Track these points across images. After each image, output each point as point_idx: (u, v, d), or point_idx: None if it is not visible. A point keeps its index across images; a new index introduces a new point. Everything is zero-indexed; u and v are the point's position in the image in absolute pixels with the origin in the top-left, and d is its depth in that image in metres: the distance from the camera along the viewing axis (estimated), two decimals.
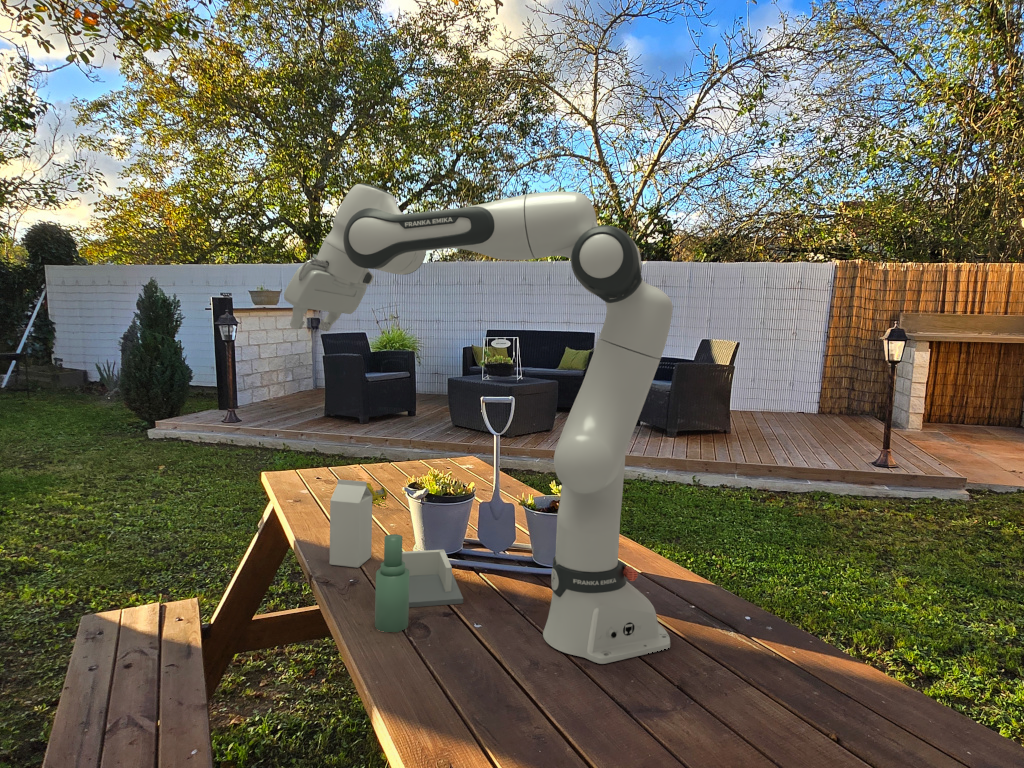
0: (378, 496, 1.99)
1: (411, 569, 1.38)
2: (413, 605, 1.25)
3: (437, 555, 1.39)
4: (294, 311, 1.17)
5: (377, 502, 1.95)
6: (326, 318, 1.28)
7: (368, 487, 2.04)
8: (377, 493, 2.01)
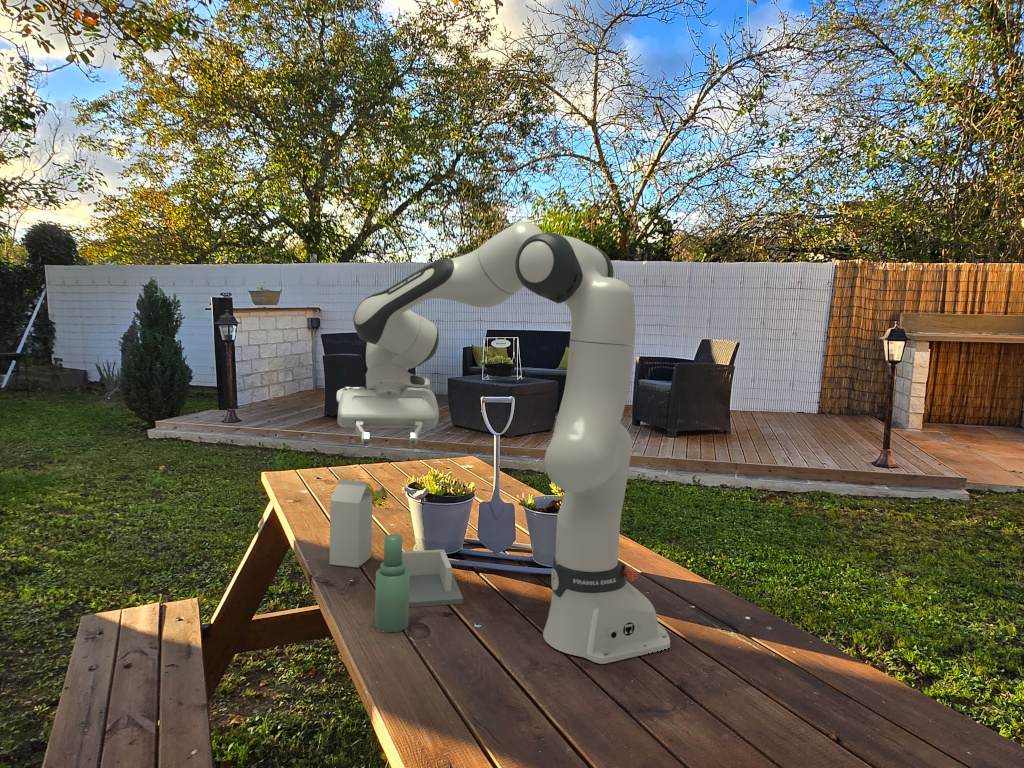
0: (378, 496, 1.99)
1: (411, 569, 1.38)
2: (413, 605, 1.25)
3: (437, 555, 1.39)
4: (356, 431, 1.27)
5: (378, 502, 1.95)
6: None
7: (368, 487, 2.04)
8: (377, 493, 2.01)
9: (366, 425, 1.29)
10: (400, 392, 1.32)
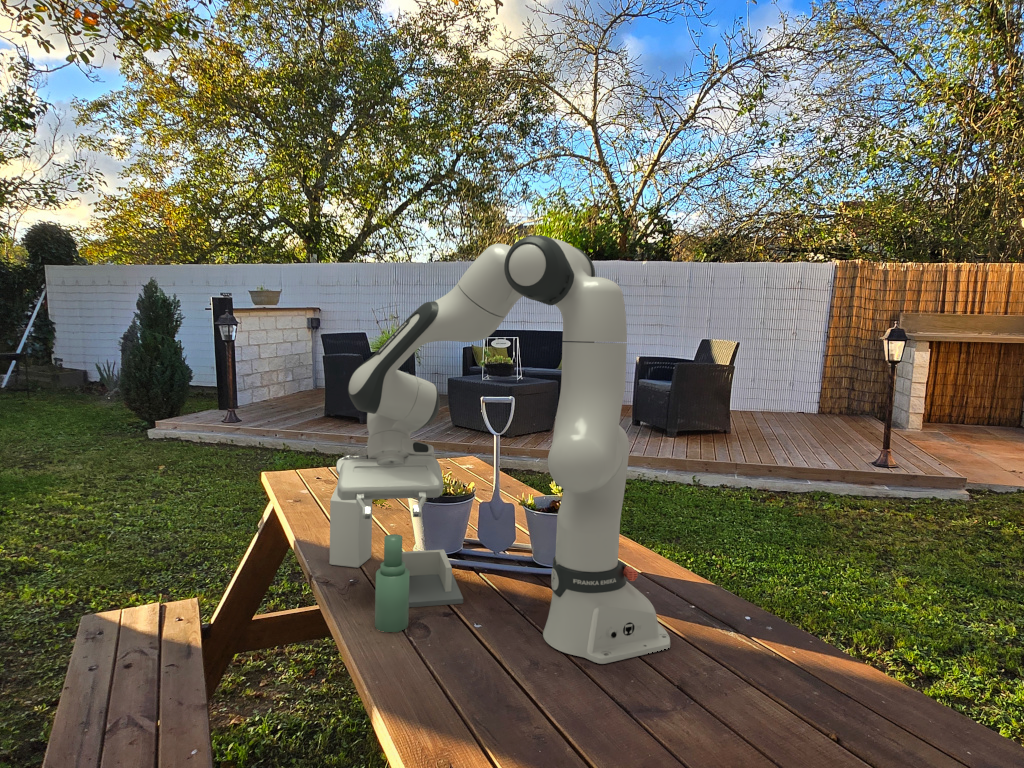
0: None
1: (411, 569, 1.38)
2: (413, 605, 1.25)
3: (437, 555, 1.39)
4: (357, 505, 1.21)
5: (379, 502, 1.95)
6: None
7: None
8: None
9: (367, 497, 1.23)
10: (403, 461, 1.26)
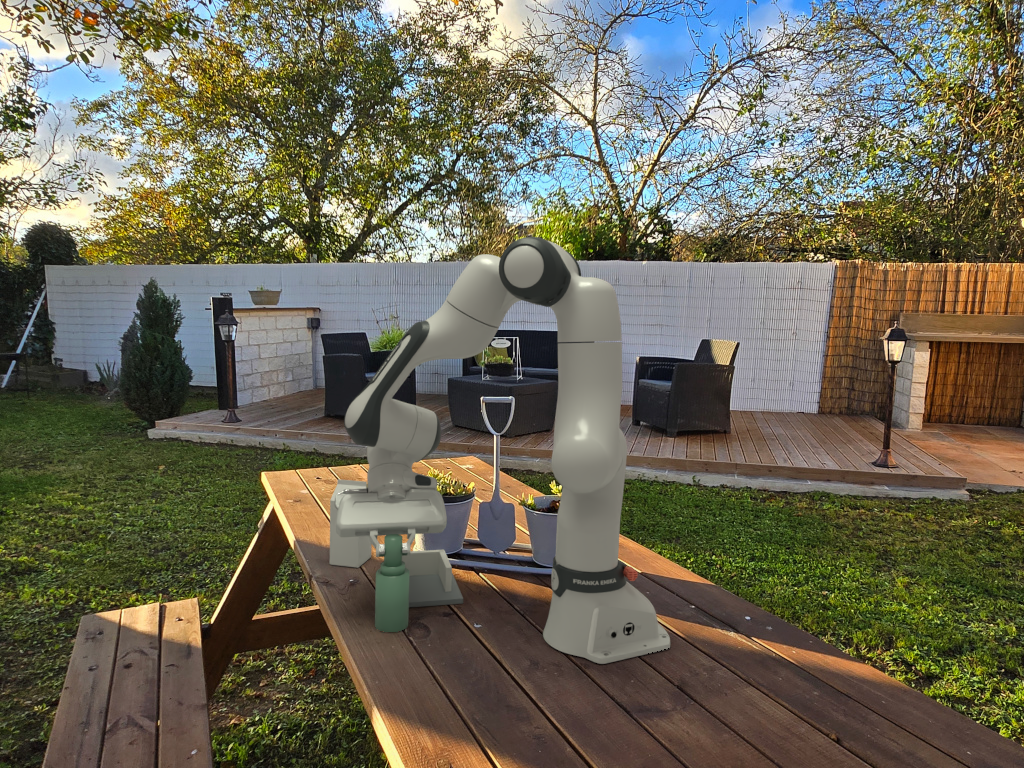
0: None
1: (411, 569, 1.38)
2: (413, 605, 1.25)
3: (437, 555, 1.39)
4: (371, 541, 1.16)
5: None
6: None
7: None
8: None
9: (381, 533, 1.18)
10: (404, 495, 1.21)
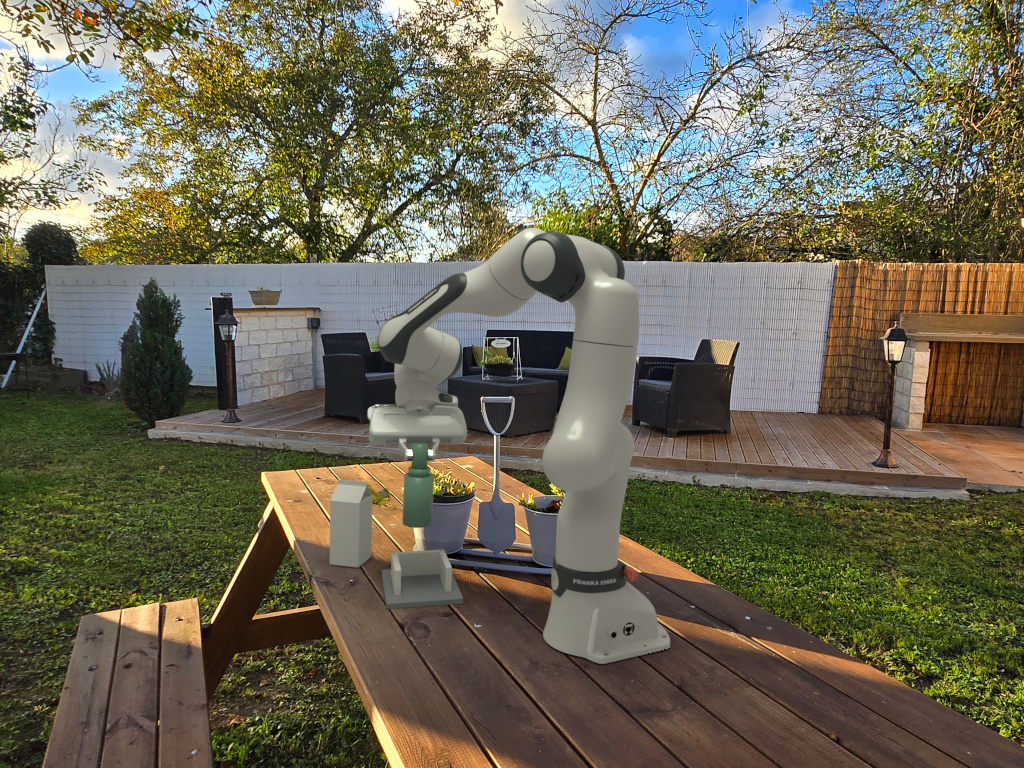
0: (382, 497, 1.98)
1: (411, 569, 1.38)
2: (413, 605, 1.25)
3: (437, 555, 1.39)
4: (400, 448, 1.30)
5: (383, 503, 1.94)
6: None
7: (370, 488, 2.02)
8: (380, 494, 2.00)
9: (408, 442, 1.32)
10: (429, 410, 1.35)
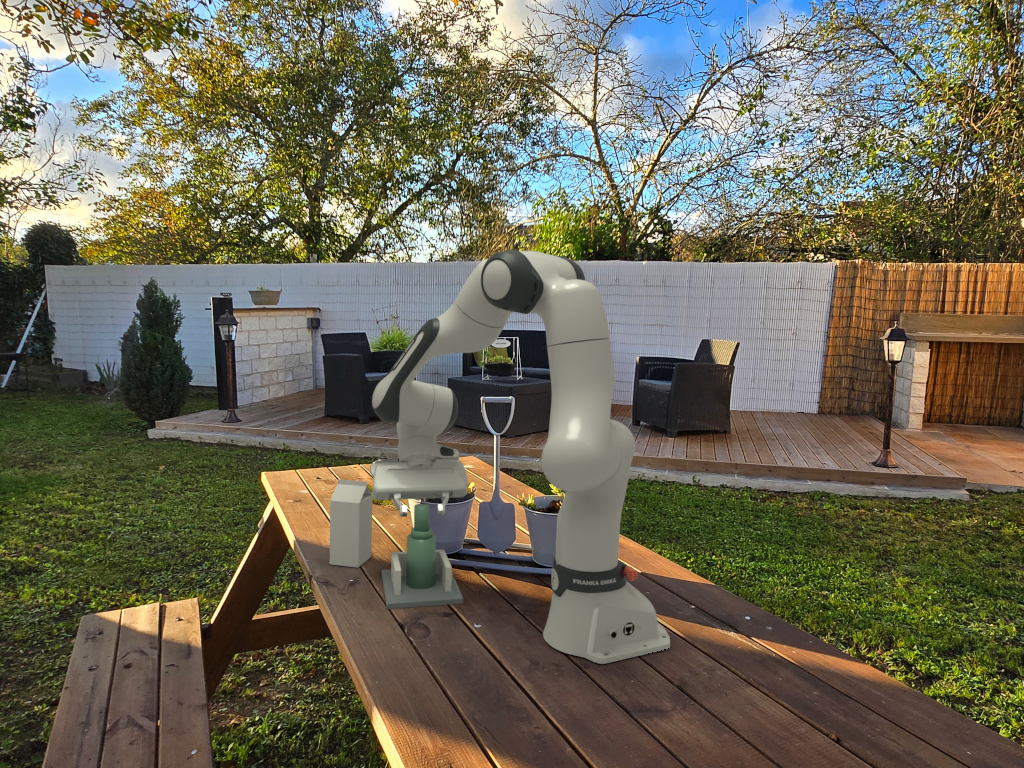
0: None
1: None
2: (413, 605, 1.25)
3: (437, 555, 1.39)
4: (395, 504, 1.33)
5: (386, 503, 1.94)
6: None
7: (371, 489, 2.02)
8: None
9: (403, 497, 1.35)
10: (431, 464, 1.38)
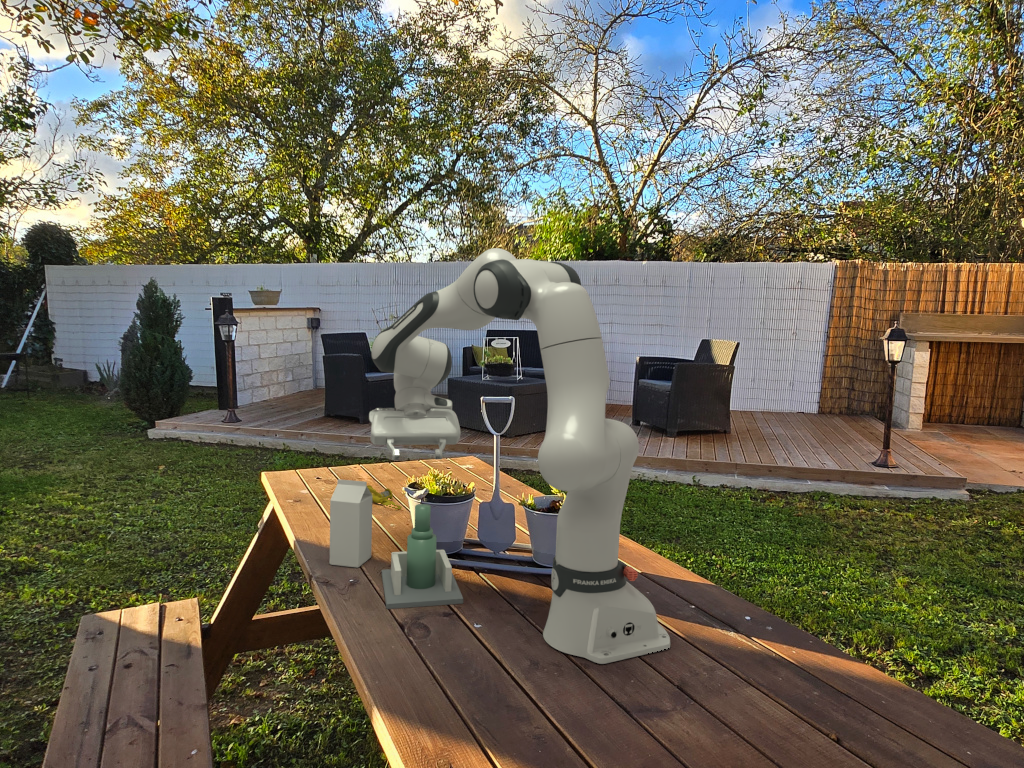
0: (385, 498, 1.98)
1: None
2: (413, 605, 1.25)
3: (437, 555, 1.39)
4: (388, 448, 1.42)
5: (388, 504, 1.94)
6: None
7: (371, 489, 2.01)
8: (383, 495, 1.99)
9: (396, 442, 1.44)
10: (425, 413, 1.47)
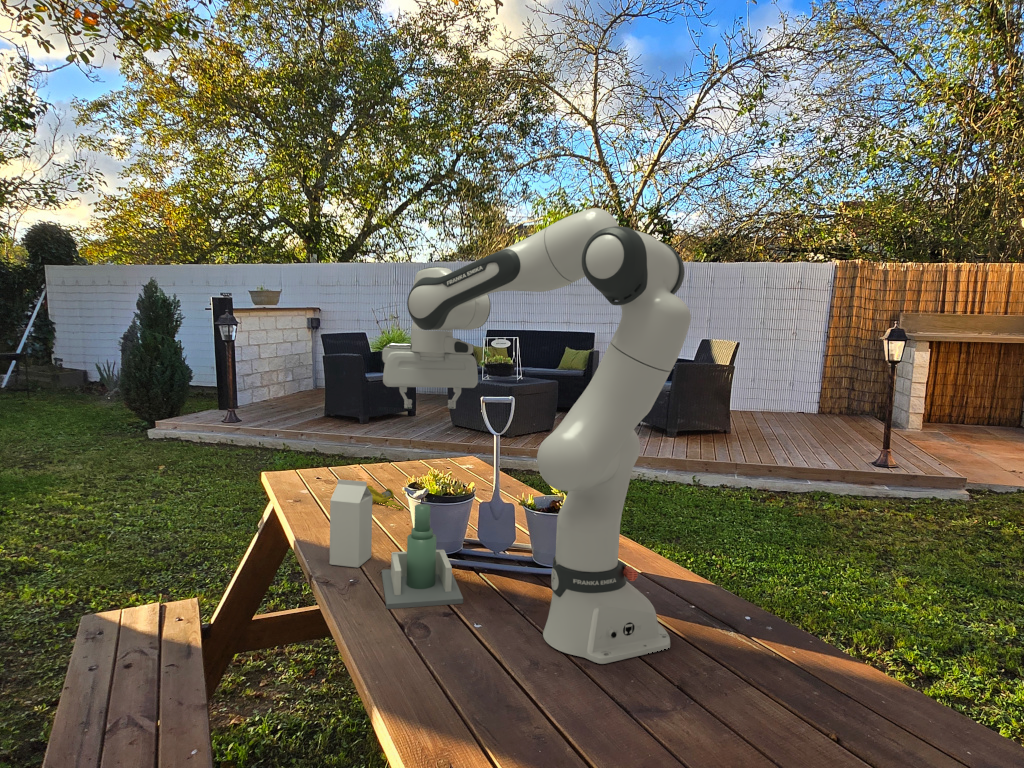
0: (387, 498, 1.97)
1: None
2: (413, 605, 1.25)
3: (437, 555, 1.39)
4: None
5: (390, 504, 1.93)
6: None
7: (372, 489, 2.01)
8: (384, 495, 1.99)
9: None
10: (443, 357, 1.36)
